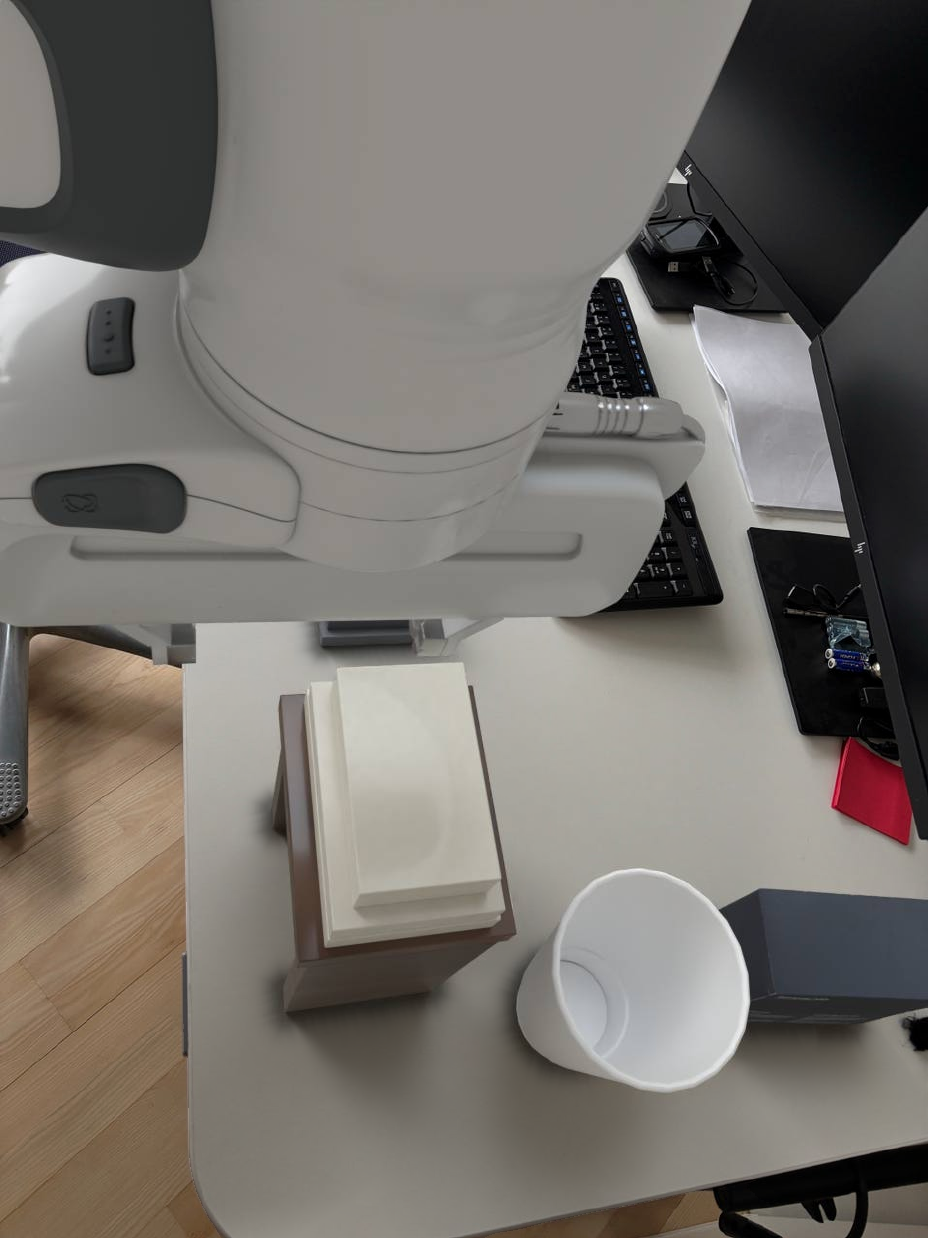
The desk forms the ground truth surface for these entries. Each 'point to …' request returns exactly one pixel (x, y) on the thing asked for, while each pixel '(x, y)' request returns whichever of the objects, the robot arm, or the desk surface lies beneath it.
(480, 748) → the walnut shelf
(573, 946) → the cup
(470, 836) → the ivory book
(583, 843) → the desk surface
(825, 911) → the small box
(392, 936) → the white books
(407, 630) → the grey books
